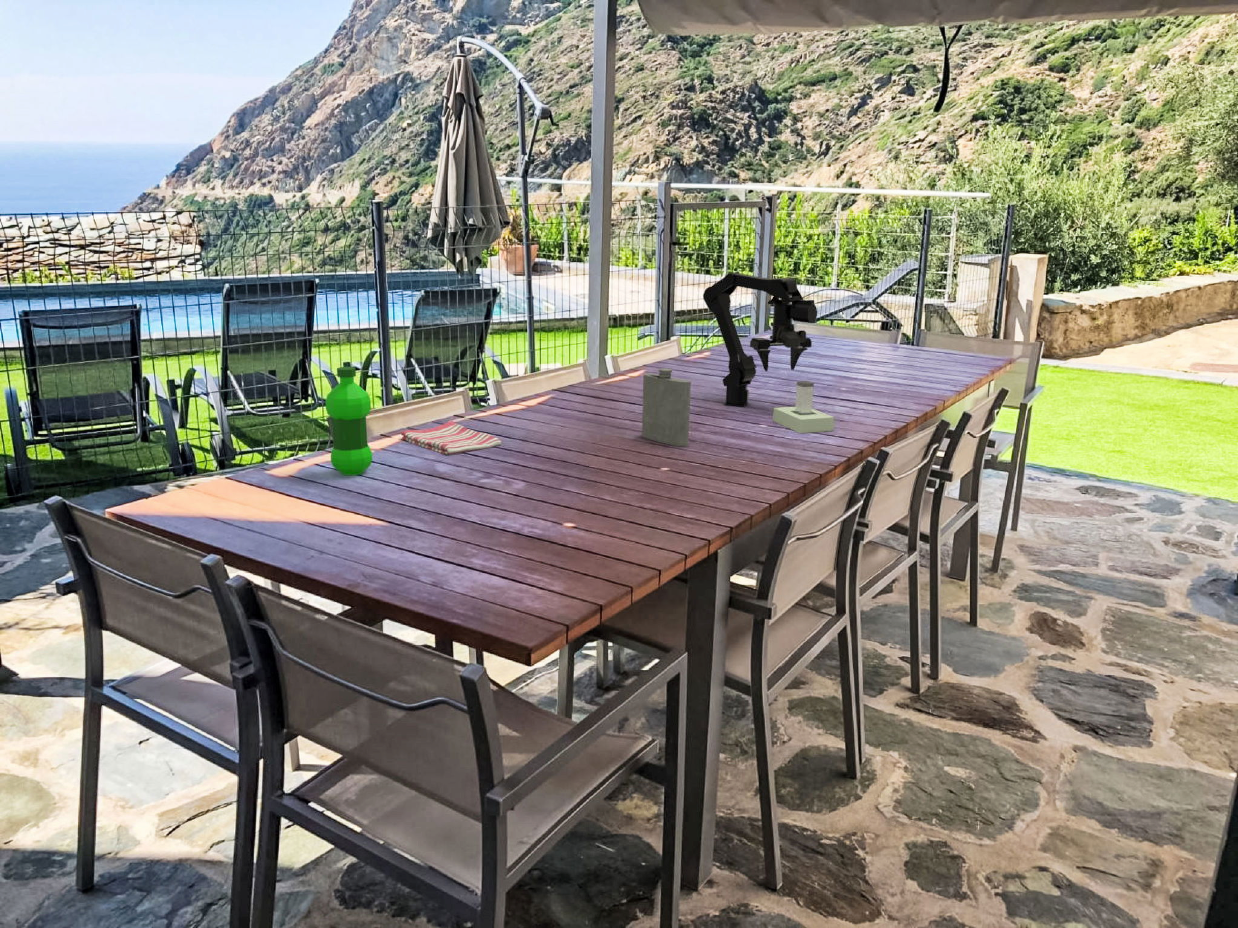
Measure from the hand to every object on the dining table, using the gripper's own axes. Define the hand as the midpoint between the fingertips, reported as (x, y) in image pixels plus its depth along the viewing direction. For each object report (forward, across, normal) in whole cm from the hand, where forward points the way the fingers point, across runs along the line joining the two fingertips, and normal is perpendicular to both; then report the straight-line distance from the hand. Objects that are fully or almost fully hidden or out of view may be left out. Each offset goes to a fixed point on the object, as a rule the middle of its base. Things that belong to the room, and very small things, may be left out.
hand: (779, 370), depth 296 cm
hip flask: (+13, -49, -25) cm, 56 cm away
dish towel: (+14, -104, -10) cm, 106 cm away
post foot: (+13, -2, -20) cm, 24 cm away
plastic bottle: (+13, -132, -32) cm, 136 cm away
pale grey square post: (+13, -2, -20) cm, 24 cm away
